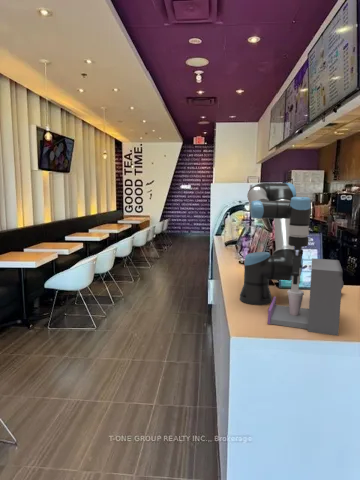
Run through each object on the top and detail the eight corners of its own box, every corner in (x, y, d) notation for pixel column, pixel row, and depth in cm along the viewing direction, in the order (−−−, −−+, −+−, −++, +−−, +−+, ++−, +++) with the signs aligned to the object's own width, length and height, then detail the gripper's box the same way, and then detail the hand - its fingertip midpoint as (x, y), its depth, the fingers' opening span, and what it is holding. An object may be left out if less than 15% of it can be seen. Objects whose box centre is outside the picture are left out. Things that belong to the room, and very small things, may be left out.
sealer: (307, 331, 131) (311, 269, 128) (308, 312, 152) (312, 258, 149) (338, 335, 127) (342, 271, 124) (334, 315, 149) (338, 260, 146)
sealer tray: (267, 323, 138) (268, 310, 137) (273, 308, 156) (273, 296, 156) (309, 329, 132) (310, 315, 132) (310, 313, 151) (310, 300, 150)
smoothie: (283, 311, 147) (285, 279, 145) (298, 311, 147) (300, 278, 145) (290, 316, 140) (291, 283, 138) (305, 316, 141) (307, 282, 139)
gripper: (307, 240, 126) (304, 297, 130) (309, 232, 149) (306, 280, 153) (286, 239, 129) (283, 294, 132) (290, 231, 152) (288, 278, 155)
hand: (295, 287), depth 142 cm, fingers open, 13 cm apart
